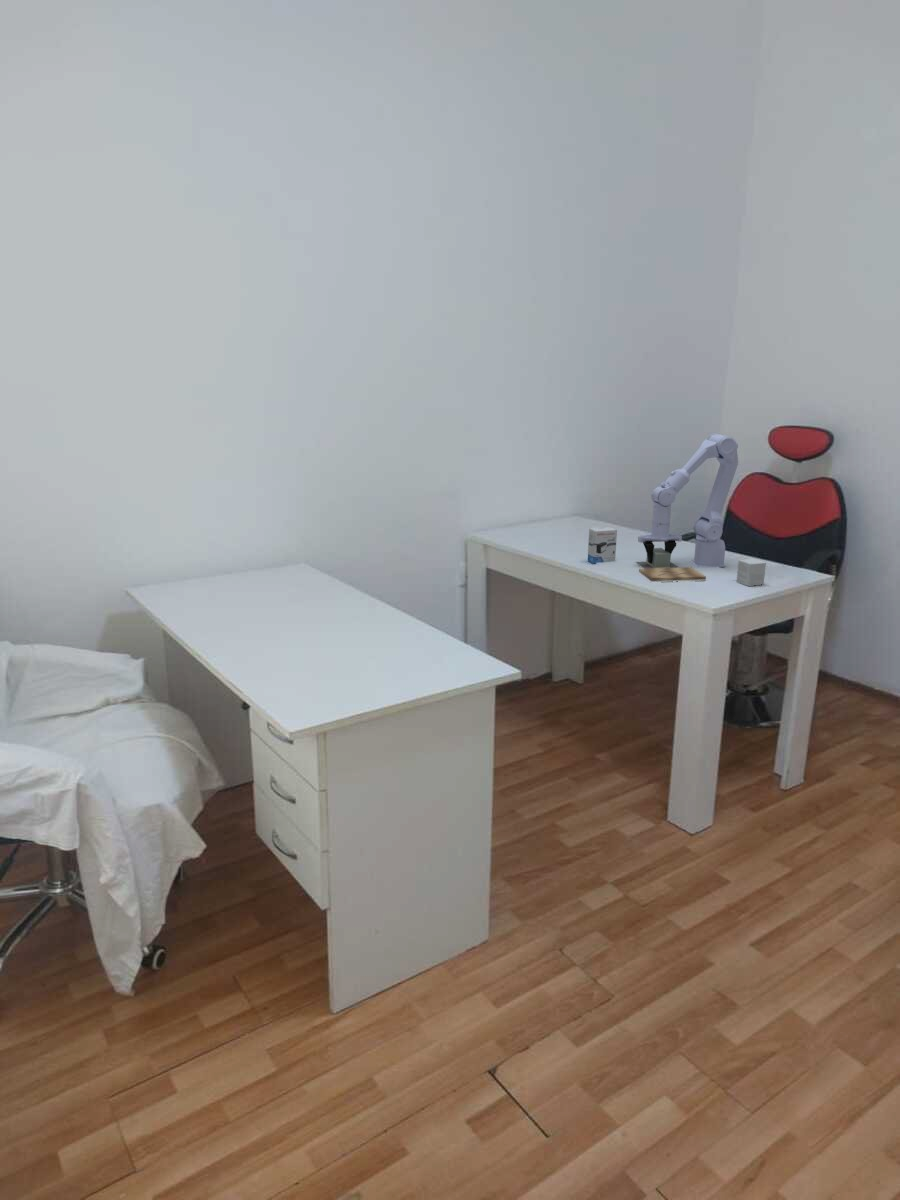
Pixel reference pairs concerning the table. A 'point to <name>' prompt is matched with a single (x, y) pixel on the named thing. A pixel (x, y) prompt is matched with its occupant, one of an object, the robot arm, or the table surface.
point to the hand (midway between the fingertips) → (658, 562)
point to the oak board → (672, 574)
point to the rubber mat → (646, 566)
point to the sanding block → (660, 558)
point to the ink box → (602, 544)
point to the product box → (751, 572)
